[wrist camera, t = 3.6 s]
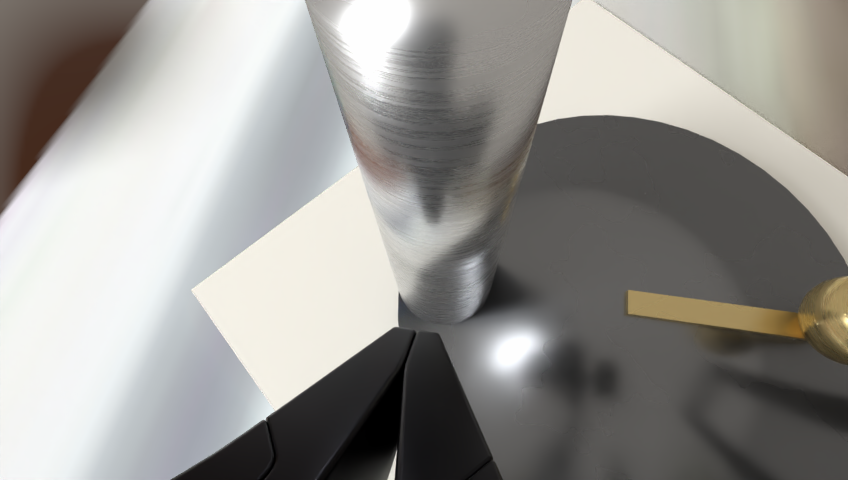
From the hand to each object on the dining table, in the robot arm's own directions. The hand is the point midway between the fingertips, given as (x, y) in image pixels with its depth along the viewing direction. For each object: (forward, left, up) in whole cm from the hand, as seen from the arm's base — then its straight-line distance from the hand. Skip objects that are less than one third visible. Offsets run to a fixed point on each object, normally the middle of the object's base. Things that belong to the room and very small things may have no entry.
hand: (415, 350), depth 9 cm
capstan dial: (-2, -7, -9) cm, 11 cm away
